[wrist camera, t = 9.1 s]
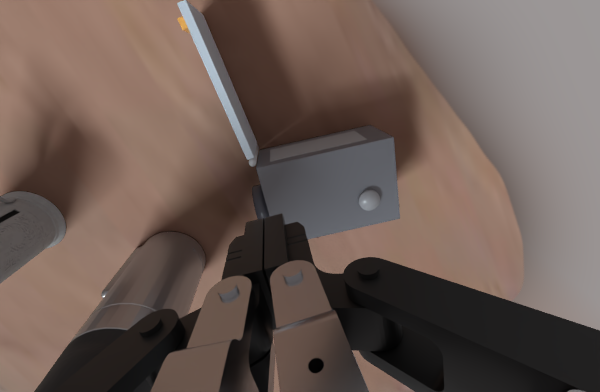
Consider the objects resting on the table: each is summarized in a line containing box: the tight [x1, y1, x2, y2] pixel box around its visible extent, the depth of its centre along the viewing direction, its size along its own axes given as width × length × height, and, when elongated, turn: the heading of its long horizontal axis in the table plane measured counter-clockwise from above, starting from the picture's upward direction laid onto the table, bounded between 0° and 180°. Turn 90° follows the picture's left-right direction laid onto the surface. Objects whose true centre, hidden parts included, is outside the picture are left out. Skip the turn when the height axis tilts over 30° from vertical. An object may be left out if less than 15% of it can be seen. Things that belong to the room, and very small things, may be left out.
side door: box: [177, 0, 259, 167], centre depth 31 cm, size 16×2×7 cm, turn 19°
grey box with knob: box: [252, 125, 400, 239], centre depth 36 cm, size 17×10×9 cm, turn 102°
